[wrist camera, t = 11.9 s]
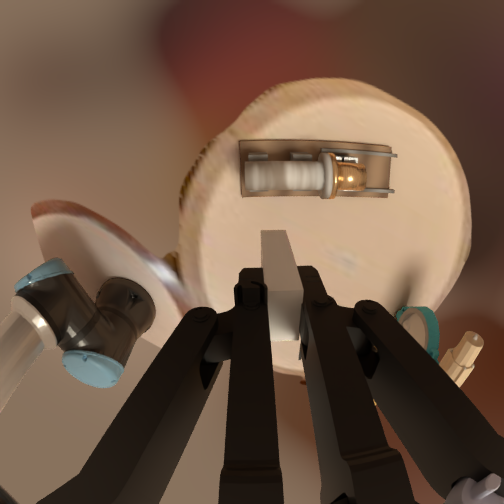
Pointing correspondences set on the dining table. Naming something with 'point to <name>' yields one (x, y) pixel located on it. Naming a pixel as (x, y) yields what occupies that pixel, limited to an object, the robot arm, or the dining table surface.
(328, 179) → the pipe jig
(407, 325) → the butterfly valve
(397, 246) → the dining table surface
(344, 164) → the coupling
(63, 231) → the dining table surface
